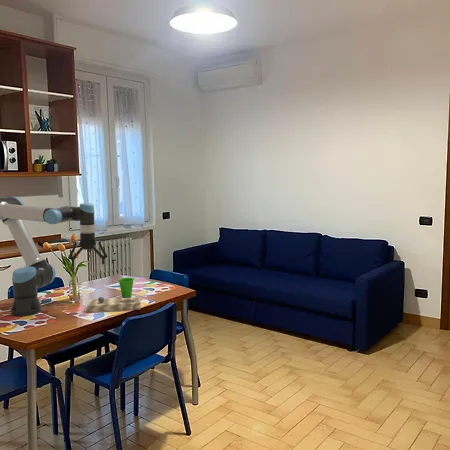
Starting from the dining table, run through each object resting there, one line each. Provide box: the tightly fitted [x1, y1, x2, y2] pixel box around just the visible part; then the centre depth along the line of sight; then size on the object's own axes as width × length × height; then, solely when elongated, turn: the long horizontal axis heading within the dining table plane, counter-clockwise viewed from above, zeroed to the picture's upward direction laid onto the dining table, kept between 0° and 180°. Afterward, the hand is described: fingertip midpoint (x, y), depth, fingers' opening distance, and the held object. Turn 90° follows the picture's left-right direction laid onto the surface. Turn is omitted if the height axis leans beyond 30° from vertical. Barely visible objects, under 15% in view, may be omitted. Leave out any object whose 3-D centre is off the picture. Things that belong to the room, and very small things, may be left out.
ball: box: [98, 296, 105, 303], centre depth 253 cm, size 3×3×3 cm
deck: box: [86, 296, 142, 313], centre depth 255 cm, size 28×12×4 cm, turn 100°
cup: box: [117, 277, 135, 298], centre depth 275 cm, size 9×9×11 cm
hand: (88, 271), depth 252 cm, fingers open, 13 cm apart
